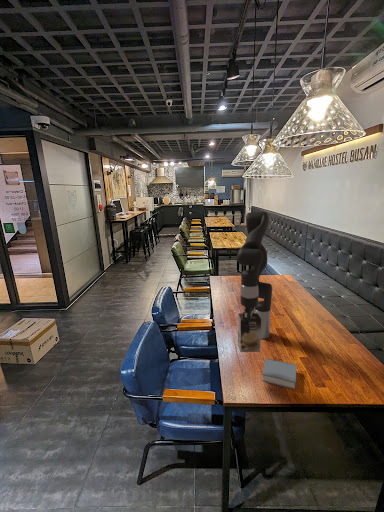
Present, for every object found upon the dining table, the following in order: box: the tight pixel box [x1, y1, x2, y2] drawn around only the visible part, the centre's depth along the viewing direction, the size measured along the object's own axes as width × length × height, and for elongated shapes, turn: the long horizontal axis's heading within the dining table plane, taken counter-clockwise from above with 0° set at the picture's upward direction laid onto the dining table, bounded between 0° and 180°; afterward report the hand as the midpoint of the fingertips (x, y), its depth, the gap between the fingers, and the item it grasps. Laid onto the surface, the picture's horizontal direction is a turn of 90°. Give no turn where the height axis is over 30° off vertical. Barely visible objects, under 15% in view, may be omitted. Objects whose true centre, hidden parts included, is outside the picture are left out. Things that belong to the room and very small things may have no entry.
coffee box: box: [237, 312, 261, 353], centre depth 111 cm, size 9×6×16 cm
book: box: [261, 357, 297, 390], centre depth 115 cm, size 12×14×4 cm
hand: (248, 327), depth 110 cm, fingers closed on coffee box, 8 cm apart
